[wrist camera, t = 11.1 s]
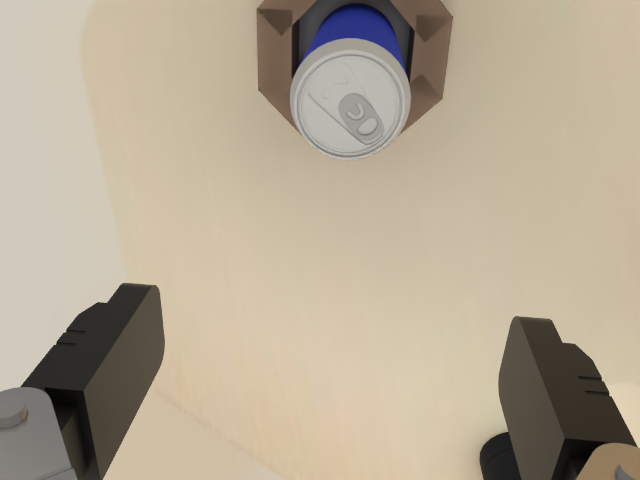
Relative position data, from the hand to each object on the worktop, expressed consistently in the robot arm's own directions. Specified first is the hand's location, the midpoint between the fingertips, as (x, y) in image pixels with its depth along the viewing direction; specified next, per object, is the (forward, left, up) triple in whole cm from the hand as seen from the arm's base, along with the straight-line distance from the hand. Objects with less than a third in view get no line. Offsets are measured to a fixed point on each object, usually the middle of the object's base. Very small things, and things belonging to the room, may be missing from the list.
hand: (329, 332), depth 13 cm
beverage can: (0, -2, -28) cm, 28 cm away
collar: (0, -2, -29) cm, 29 cm away
